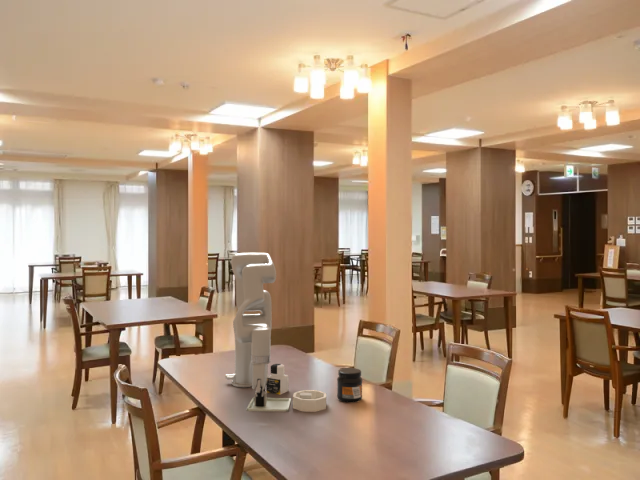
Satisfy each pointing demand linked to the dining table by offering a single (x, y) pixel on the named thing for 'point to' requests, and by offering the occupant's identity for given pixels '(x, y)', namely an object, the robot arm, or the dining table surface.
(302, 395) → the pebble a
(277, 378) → the medicine bottle
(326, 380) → the dining table surface
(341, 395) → the supplement container
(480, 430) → the dining table surface
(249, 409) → the tray
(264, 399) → the beige small block
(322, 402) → the bowl
